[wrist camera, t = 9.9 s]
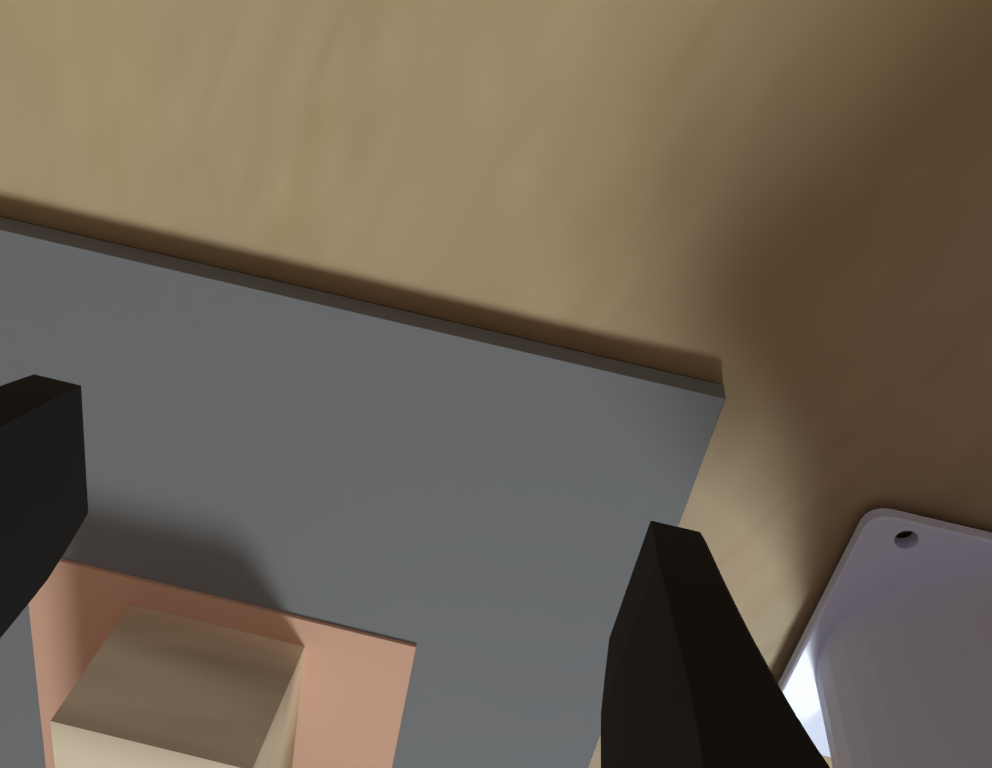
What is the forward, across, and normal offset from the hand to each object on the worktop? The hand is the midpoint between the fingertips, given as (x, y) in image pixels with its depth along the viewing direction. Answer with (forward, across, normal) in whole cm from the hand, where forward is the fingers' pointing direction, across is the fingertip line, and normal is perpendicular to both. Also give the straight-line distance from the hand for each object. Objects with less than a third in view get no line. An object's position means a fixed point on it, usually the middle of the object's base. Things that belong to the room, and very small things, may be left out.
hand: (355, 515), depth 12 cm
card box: (+9, +5, +17) cm, 20 cm away
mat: (+9, +4, +13) cm, 17 cm away
